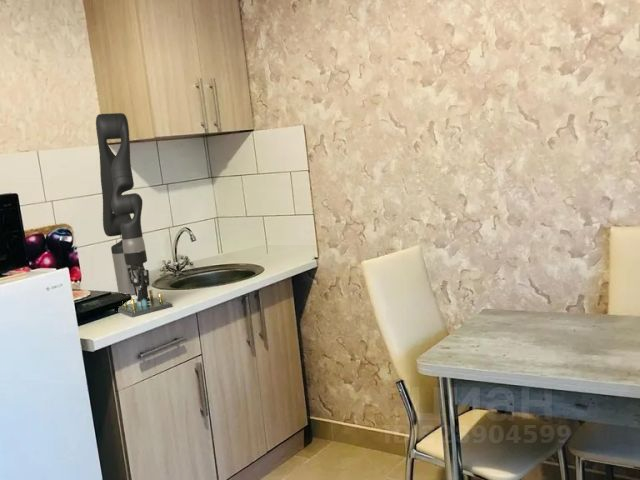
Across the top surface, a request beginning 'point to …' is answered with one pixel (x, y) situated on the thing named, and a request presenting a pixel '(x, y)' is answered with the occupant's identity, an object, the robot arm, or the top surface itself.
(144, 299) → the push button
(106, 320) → the top surface
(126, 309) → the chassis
